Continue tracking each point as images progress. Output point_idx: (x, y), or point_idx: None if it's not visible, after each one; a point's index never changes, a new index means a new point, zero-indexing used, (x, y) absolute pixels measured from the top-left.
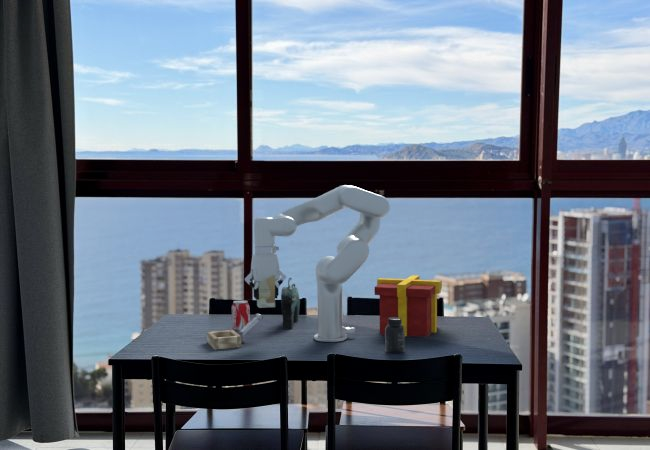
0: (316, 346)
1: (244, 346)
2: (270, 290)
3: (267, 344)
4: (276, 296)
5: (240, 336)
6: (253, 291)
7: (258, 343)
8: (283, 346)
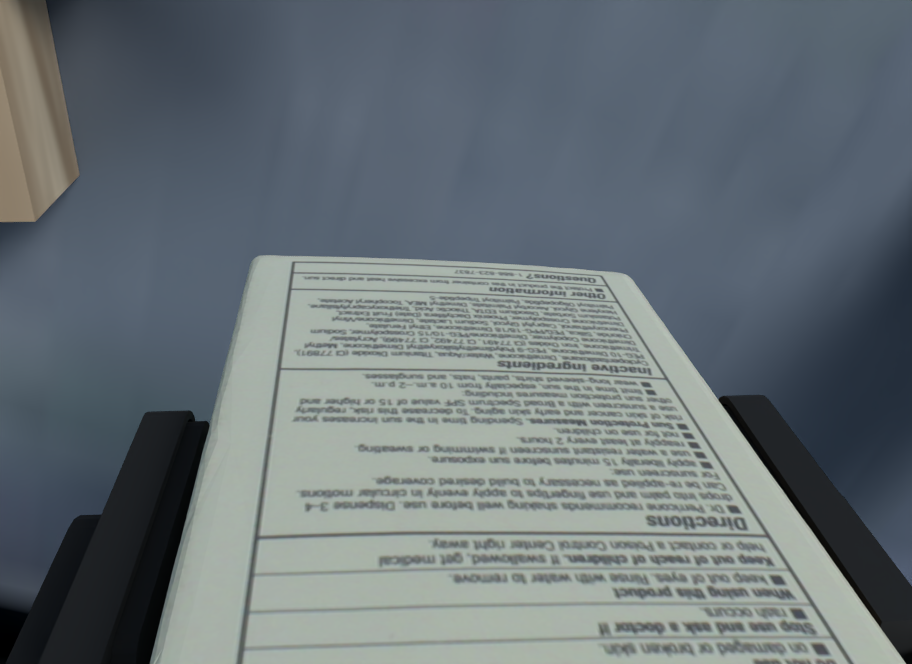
0: (804, 407)
1: (122, 152)
2: None
3: (406, 158)
4: None
5: (26, 220)
6: (20, 643)
7: (318, 64)
8: None
